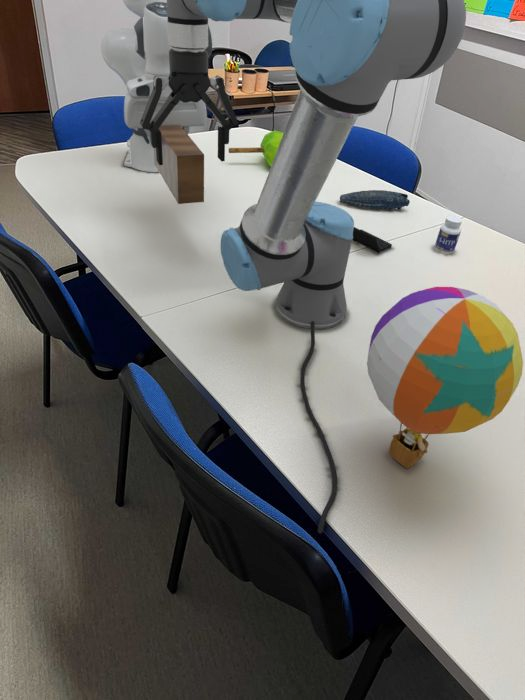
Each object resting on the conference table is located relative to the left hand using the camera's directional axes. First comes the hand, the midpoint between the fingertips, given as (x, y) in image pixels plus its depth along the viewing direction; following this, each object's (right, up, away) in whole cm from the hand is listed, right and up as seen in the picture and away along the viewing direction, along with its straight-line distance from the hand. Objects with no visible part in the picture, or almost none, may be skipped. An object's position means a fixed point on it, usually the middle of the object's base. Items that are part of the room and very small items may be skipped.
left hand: (167, 144), depth 132 cm
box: (+3, -11, -3) cm, 12 cm away
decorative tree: (+27, +13, +50) cm, 58 cm away
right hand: (+9, -12, -20) cm, 25 cm away
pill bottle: (+73, -25, +8) cm, 78 cm away
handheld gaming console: (+52, -24, +7) cm, 58 cm away
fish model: (+58, -8, +28) cm, 65 cm away
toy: (+47, -70, -50) cm, 98 cm away
